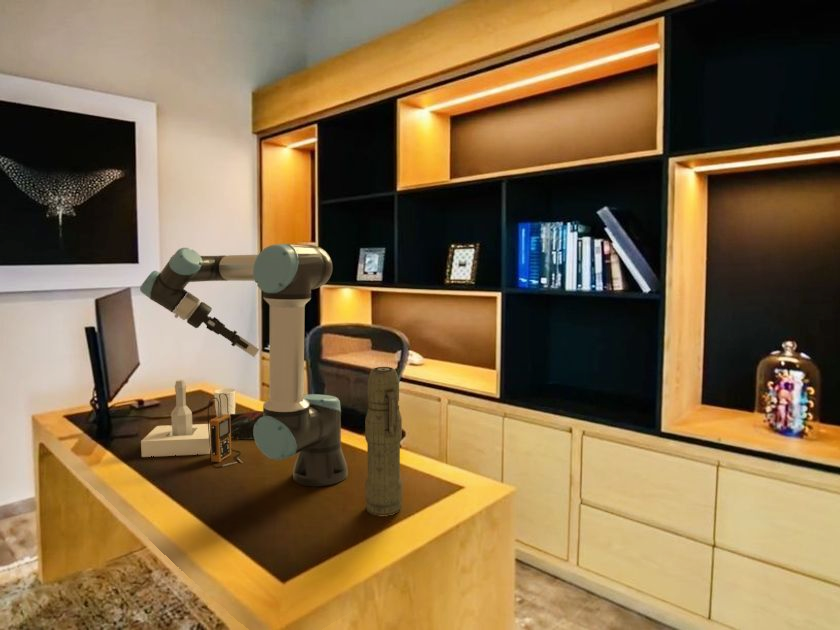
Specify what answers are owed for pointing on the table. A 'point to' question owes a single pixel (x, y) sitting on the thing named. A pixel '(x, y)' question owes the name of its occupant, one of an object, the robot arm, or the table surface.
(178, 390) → the low poly bottle
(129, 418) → the table surface
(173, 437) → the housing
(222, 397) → the white cup
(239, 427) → the drone shell
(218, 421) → the multimeter
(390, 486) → the thermos
